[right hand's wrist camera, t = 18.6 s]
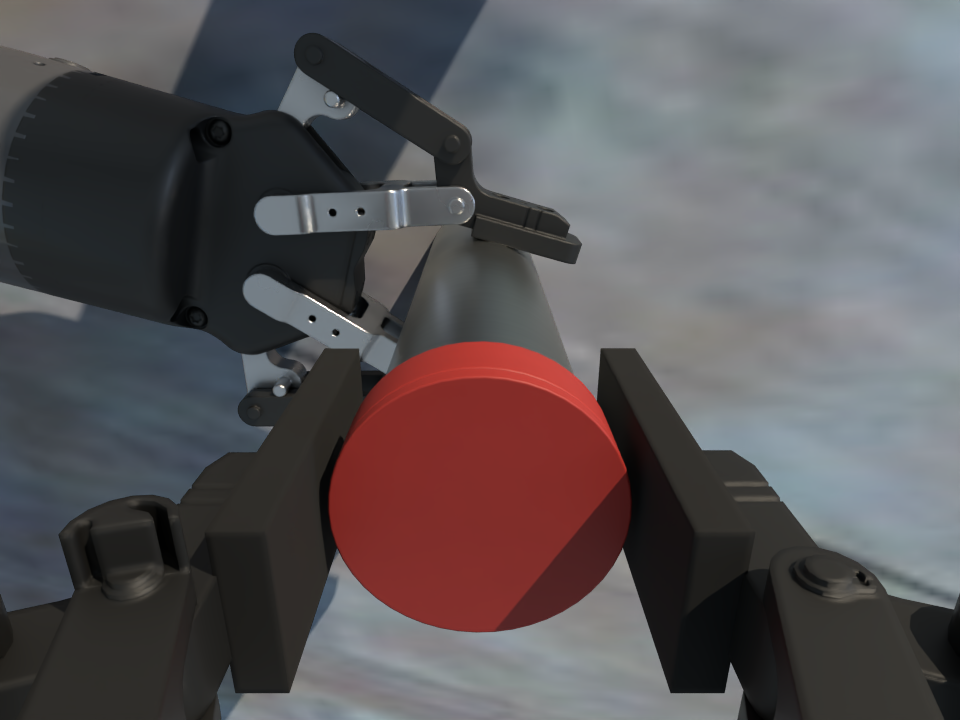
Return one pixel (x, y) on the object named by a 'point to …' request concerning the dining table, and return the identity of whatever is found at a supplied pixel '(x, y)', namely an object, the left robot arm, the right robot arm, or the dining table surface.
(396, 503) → the lid
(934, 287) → the dining table surface
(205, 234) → the left robot arm
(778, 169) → the dining table surface
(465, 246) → the gray cylinder
